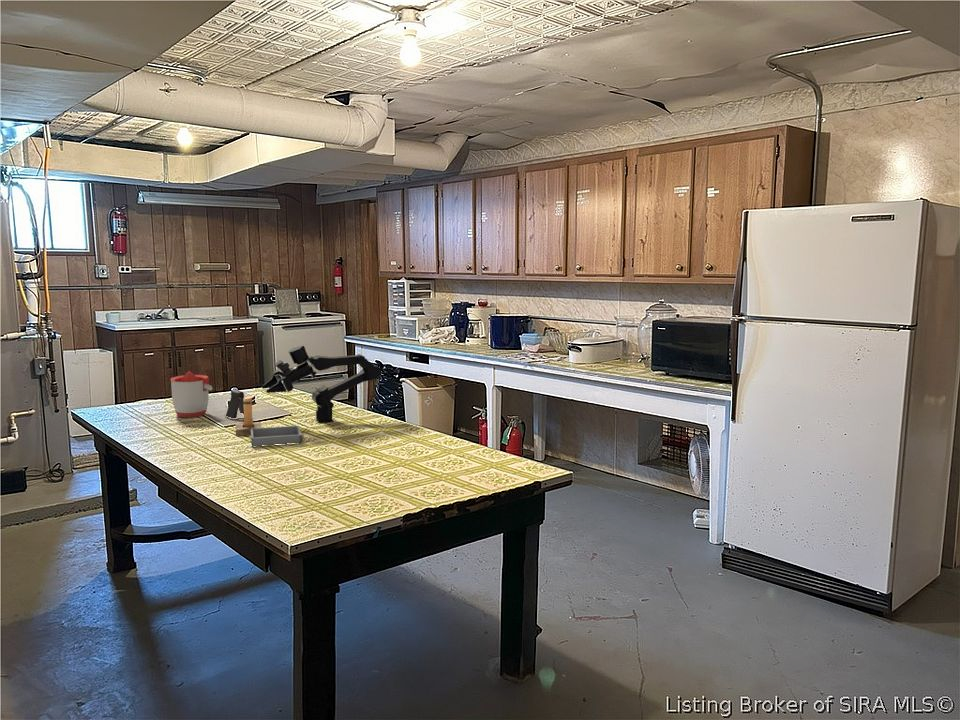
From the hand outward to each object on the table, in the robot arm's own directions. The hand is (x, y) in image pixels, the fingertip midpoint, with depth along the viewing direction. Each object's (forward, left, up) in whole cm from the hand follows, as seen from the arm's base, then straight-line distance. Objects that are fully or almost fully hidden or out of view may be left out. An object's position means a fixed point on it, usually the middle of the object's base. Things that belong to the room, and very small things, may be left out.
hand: (264, 389), depth 289 cm
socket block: (+7, +6, -16) cm, 18 cm away
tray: (-3, +22, -16) cm, 27 cm away
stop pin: (+7, +6, -16) cm, 18 cm away
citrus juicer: (+30, -29, -16) cm, 45 cm away
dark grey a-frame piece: (+11, -20, -16) cm, 28 cm away
